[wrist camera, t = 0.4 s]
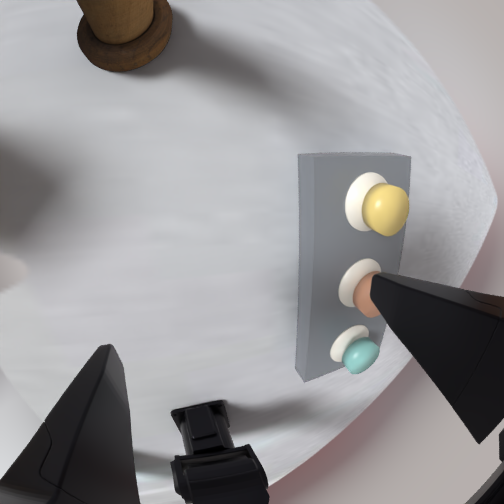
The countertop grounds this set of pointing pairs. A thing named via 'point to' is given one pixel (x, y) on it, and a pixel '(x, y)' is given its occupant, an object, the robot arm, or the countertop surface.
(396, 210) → the mustard button
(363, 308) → the terracotta button
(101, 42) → the brown stepped post
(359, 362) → the teal button
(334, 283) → the button console
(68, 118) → the countertop surface
